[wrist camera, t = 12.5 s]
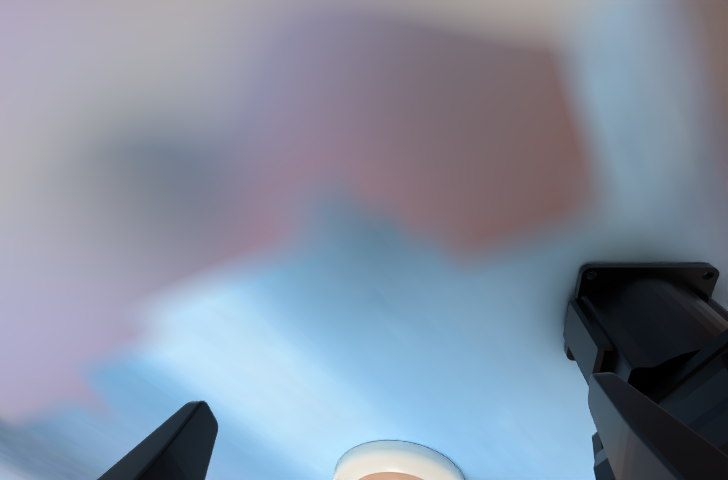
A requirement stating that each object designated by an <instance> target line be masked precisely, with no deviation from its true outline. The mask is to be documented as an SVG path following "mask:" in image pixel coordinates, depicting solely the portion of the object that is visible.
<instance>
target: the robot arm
mask: <svg viewBox="0 0 728 480" xmlns="http://www.w3.org/2000/svg"><path fill="white" fill-rule="evenodd" d="M592 271H593V272H594V273H593V274H592V275H590V276H587V274H588V273H589V272H592ZM705 272H708V273H707V274H706V275H704V276H702V275H703V274H704V273H705ZM718 277H719V271H718V270H717V269H716V268H715V267H713V266H712V265H710V264H706V263H687V264H586V265H584V266H583V267H582V268H581V269H580V271H579V275H578V280H577V285H576V290H575V296H574V298H573V299H572V300H571V301H570V302H569V306H568V311H567V317H566V322H565V328H564V333H563V336H564V338H565V340H566V343H565V349H564V351H565V354H566V356H567V357H568V359H570V360H573V361H576V362H577V364H578V366H579V368H580V370H581V372H582V374H583V376H584V378H585V380H586V382H587V384H588V386H589V393H588V405H589V409H590V412H591V415H592V418H593V420H594V423H595V426H596V428H597V432H596V433H595V434H594V435H593V436H592V441H593V450H594V459H595V463H594V473H595V477H596V480H728V311H726V310H725V309H724V308H723V307H722V306H720V305H719V304H718V303H717V302H716V301H714V300H713V299H712V298H711V295H712V293H713V290H714V287H715V285H716V282H717V279H718ZM217 432H218V423H217V420H216V418H215V417H214V415H213V413H212V411H211V409H210V407H209V406H208V404H207V403H206V402H205V401H192V402H188V403H187V404H185V405H184V406H183V407H182V408H181V409H179V410H178V411H177V412H176V413H175V414H174V415H172V416H171V417H170V418H169V419H168V420H167V421H165V422H164V423H163V424H162V425H161V426H159V427H158V428H157V429H156V430H155V431H154V432H152V433H151V434H150V435H149V436H148V437H147V438H145V439H144V440H143V441H142V442H141V443H140V444H138V445H137V446H136V447H135V448H134V449H133V450H131V451H130V452H129V453H128V454H127V455H126V456H124V457H123V458H122V459H121V460H120V461H118V462H117V463H116V464H115V465H114V466H113V467H111V468H110V469H109V470H108V471H107V472H106V473H104V474H103V475H102V476H101V477H100V478H99V479H97V480H205V477H206V473H207V470H208V466H209V462H210V458H211V455H212V451H213V447H214V444H215V440H216V436H217Z"/></svg>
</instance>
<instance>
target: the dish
mask: <svg viewBox="0 0 728 480" xmlns="http://www.w3.org/2000/svg"><path fill="white" fill-rule="evenodd" d="M333 480H465V479H464V477H463V475H462V473H461V472H460V470H459V469H458V468H457V467H456V466H455V465H454V464H453V463H452V462H451V461H450V460H449V459H447V458H446V457H444V456H443V455H441V454H440V453H438V452H436V451H434V450H432V449H429V448H427V447H424V446H421V445H417V444H414V443H409V442H403V441H390V440H386V441H375V442H369V443H365V444H362V445H359V446H357V447H354V448H353V449H351V450H349V451H348V452H346V453H345V454H344V455H343V456H342V457H341V458H340V459H339V461H338V463H337V465H336V468H335V472H334V477H333Z"/></svg>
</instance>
